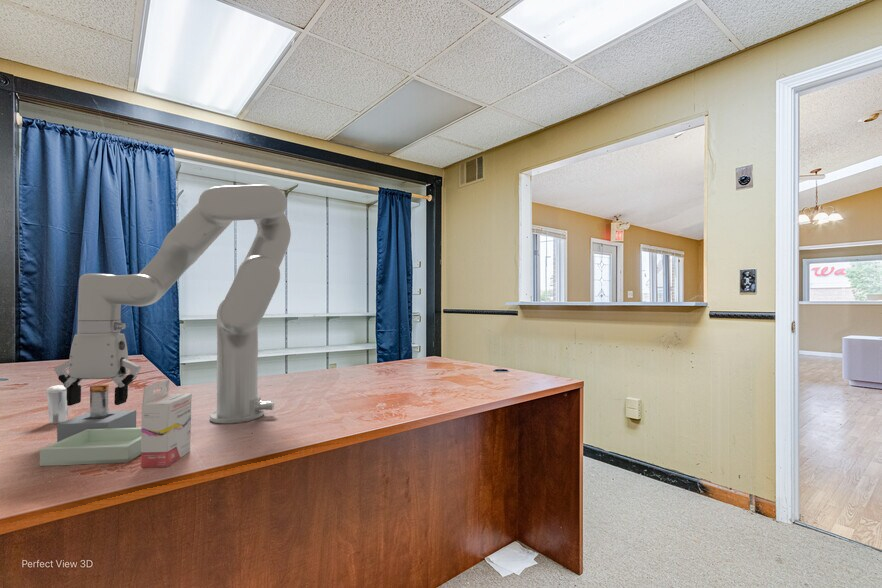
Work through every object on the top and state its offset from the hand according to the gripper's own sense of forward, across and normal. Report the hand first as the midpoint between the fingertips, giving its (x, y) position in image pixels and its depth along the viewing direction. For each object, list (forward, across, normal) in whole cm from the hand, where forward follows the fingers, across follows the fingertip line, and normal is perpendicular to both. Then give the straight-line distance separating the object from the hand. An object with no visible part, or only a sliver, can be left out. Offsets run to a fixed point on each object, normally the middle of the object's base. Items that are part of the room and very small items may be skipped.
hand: (97, 403), depth 95 cm
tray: (+7, -9, +12) cm, 17 cm away
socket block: (+7, 0, 0) cm, 7 cm away
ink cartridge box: (+7, -23, +17) cm, 30 cm away
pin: (+7, 0, 0) cm, 7 cm away
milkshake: (+7, +16, -11) cm, 21 cm away
